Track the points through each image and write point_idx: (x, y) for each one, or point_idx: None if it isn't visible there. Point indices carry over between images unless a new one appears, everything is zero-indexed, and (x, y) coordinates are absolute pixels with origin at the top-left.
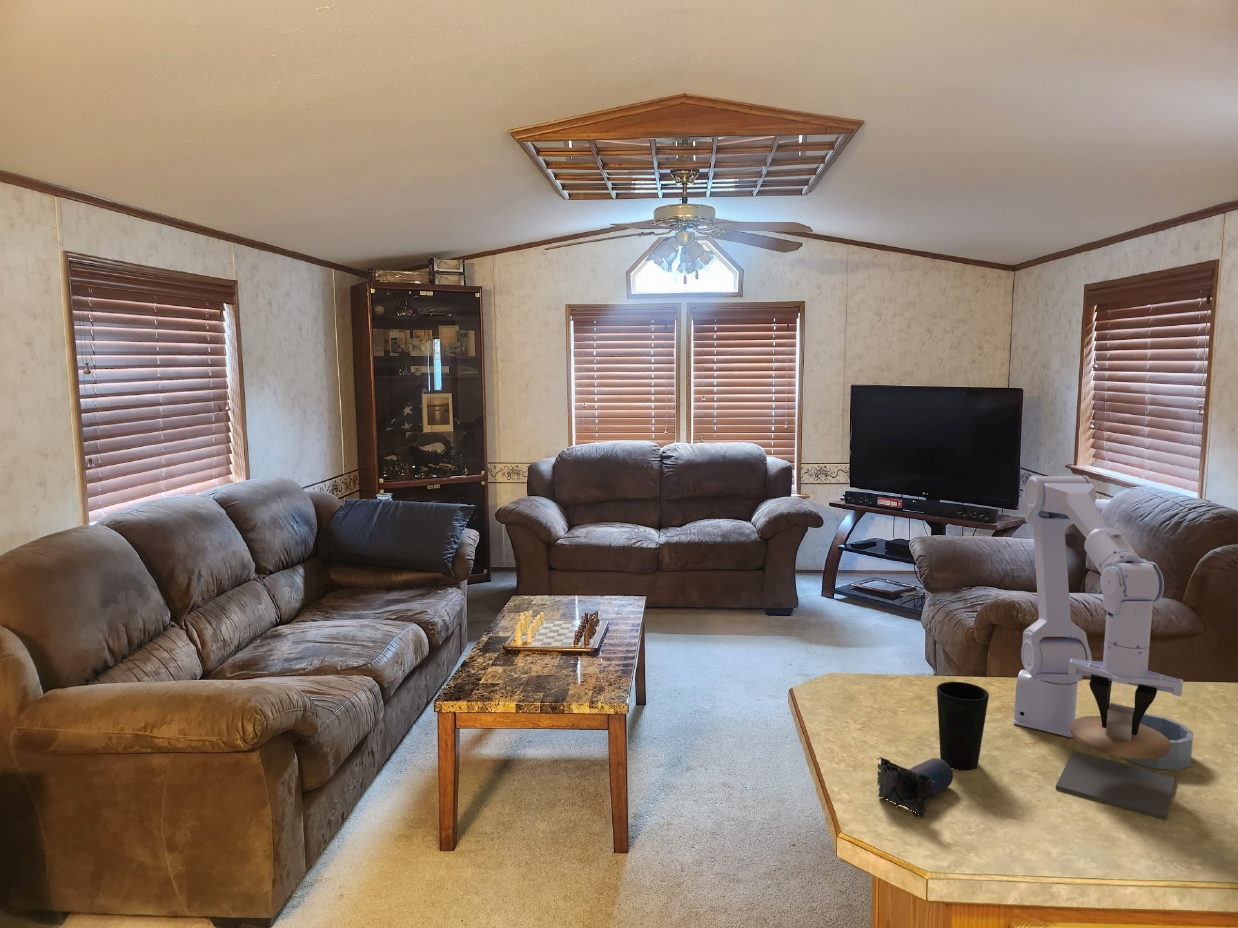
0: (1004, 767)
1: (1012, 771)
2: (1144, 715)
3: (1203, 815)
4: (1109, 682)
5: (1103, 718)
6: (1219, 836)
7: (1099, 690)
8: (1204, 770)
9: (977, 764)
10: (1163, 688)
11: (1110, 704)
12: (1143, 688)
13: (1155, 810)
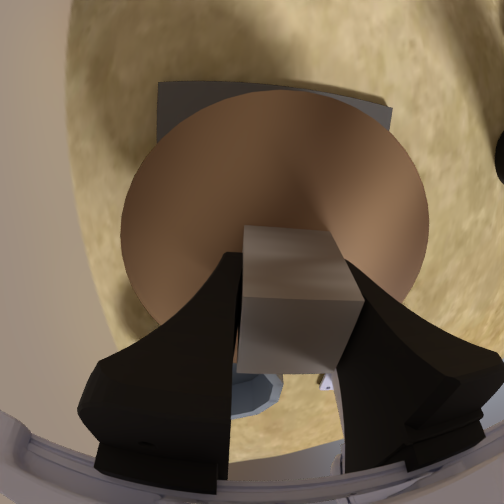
0: (463, 167)
1: (454, 155)
2: (231, 414)
3: (102, 155)
4: (394, 450)
5: (360, 274)
6: (76, 86)
7: (466, 359)
8: (138, 331)
9: (499, 148)
10: (66, 465)
11: (338, 359)
12: (180, 469)
13: (180, 94)
